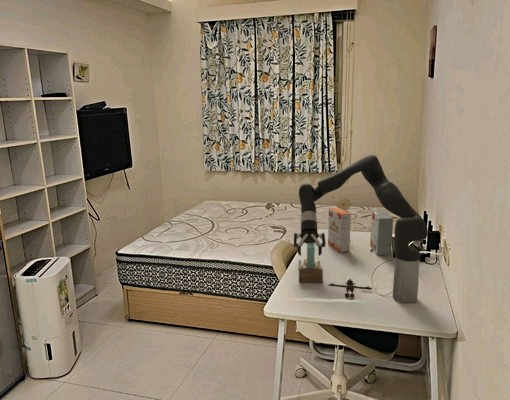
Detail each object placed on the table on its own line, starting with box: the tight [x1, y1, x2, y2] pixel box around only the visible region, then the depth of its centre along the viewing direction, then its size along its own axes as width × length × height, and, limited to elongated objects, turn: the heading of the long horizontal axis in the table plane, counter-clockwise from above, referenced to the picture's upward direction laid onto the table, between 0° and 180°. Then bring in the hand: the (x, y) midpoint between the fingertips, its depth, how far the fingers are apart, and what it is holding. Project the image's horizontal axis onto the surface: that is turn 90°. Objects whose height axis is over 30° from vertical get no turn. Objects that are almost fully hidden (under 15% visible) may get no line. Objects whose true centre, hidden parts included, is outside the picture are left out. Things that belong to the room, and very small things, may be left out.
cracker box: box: [327, 207, 352, 253], centre depth 228 cm, size 14×6×21 cm, turn 17°
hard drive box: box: [369, 209, 394, 256], centre depth 224 cm, size 16×8×20 cm, turn 178°
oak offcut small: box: [303, 258, 317, 267], centre depth 198 cm, size 5×4×2 cm
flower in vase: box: [335, 196, 352, 213], centre depth 241 cm, size 13×11×25 cm
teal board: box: [306, 243, 316, 269], centre depth 188 cm, size 6×3×15 cm, turn 175°
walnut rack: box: [298, 259, 324, 284], centre depth 193 cm, size 20×10×7 cm, turn 175°
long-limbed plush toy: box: [328, 278, 373, 301], centre depth 177 cm, size 18×4×14 cm
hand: (309, 255), depth 190 cm, fingers open, 8 cm apart
